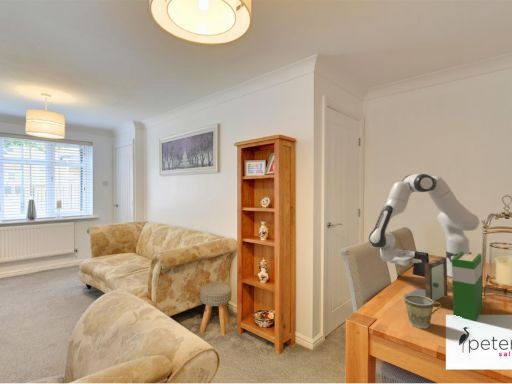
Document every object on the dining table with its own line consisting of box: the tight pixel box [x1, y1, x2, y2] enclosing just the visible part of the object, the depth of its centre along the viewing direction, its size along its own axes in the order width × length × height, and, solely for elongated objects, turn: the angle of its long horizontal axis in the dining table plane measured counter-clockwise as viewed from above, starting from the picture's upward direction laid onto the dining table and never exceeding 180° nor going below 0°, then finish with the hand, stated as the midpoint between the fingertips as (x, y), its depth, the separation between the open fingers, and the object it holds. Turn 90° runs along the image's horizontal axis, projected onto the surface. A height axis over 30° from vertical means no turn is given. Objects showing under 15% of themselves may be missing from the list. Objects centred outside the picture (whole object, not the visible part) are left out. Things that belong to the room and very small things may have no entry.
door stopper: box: [412, 251, 430, 278], centre depth 150 cm, size 9×6×12 cm, turn 125°
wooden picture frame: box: [424, 256, 448, 300], centre depth 131 cm, size 19×2×19 cm, turn 125°
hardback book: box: [451, 252, 484, 322], centre depth 118 cm, size 18×7×24 cm, turn 133°
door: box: [432, 263, 445, 302], centre depth 131 cm, size 14×3×16 cm, turn 125°
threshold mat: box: [403, 288, 426, 298], centre depth 136 cm, size 16×11×1 cm
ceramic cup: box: [404, 295, 442, 330], centre depth 108 cm, size 13×10×10 cm
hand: (423, 261), depth 149 cm, fingers closed on door stopper
